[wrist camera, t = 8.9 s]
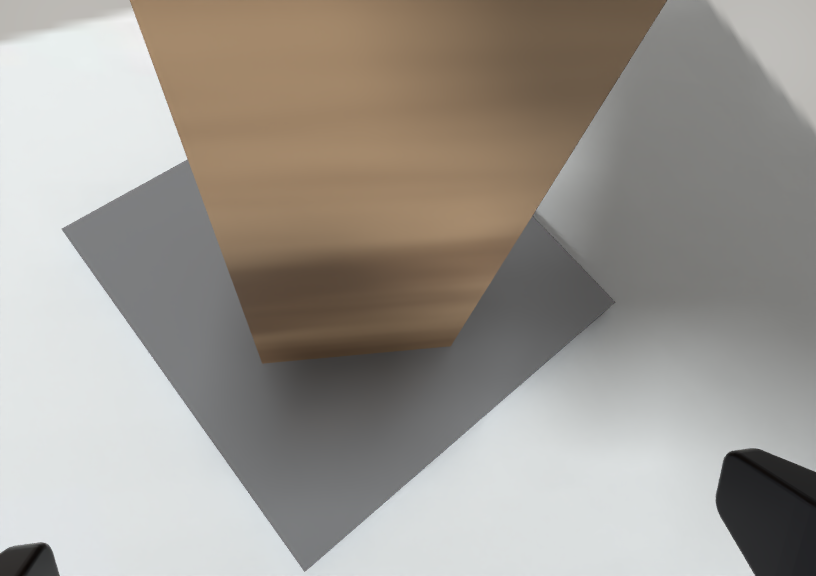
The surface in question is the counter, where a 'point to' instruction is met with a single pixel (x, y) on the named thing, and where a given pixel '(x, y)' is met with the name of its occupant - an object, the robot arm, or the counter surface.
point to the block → (378, 148)
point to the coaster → (321, 363)
